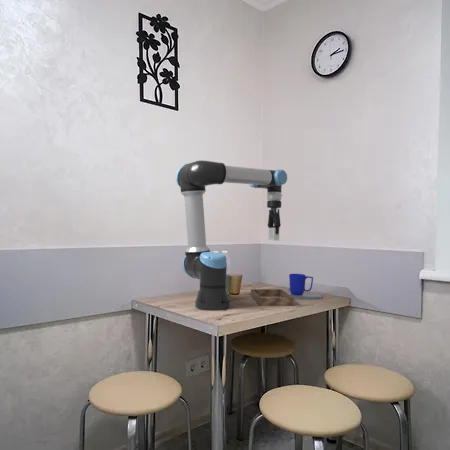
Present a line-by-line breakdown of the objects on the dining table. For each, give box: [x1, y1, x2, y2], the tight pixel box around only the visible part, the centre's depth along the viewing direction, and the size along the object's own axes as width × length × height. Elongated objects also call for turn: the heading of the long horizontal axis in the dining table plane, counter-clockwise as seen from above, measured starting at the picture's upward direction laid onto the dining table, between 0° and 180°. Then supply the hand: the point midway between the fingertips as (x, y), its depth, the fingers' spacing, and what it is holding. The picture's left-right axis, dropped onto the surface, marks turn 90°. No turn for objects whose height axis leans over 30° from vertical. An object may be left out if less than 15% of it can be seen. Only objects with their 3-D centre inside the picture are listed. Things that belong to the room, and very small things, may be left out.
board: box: [285, 291, 323, 300], centre depth 187 cm, size 18×14×1 cm
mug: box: [288, 273, 314, 295], centre depth 186 cm, size 8×12×10 cm
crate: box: [250, 288, 295, 307], centre depth 174 cm, size 16×23×4 cm
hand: (273, 240), depth 194 cm, fingers open, 13 cm apart
